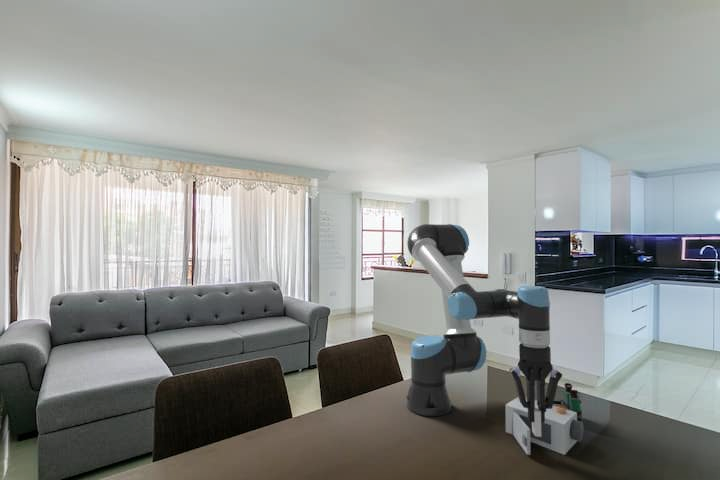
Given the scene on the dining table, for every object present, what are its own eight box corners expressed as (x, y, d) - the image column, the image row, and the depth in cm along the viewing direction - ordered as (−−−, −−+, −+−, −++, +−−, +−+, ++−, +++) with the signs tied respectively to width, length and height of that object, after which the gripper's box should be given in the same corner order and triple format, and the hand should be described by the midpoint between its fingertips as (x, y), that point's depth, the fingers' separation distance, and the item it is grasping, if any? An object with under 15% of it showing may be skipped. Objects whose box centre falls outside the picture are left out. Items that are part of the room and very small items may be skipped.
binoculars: (541, 382, 120) (573, 381, 118) (544, 414, 120) (577, 414, 118) (549, 393, 112) (584, 392, 110) (553, 427, 111) (589, 427, 109)
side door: (509, 433, 105) (509, 410, 105) (515, 433, 105) (515, 410, 105) (525, 454, 94) (524, 429, 94) (531, 454, 94) (530, 429, 94)
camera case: (505, 432, 107) (505, 402, 107) (520, 420, 114) (520, 392, 114) (572, 458, 94) (572, 424, 94) (585, 443, 101) (584, 412, 101)
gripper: (513, 347, 94) (515, 439, 93) (566, 348, 92) (569, 443, 91) (505, 340, 101) (507, 425, 100) (554, 341, 99) (557, 428, 99)
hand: (536, 433), depth 96 cm, fingers closed
